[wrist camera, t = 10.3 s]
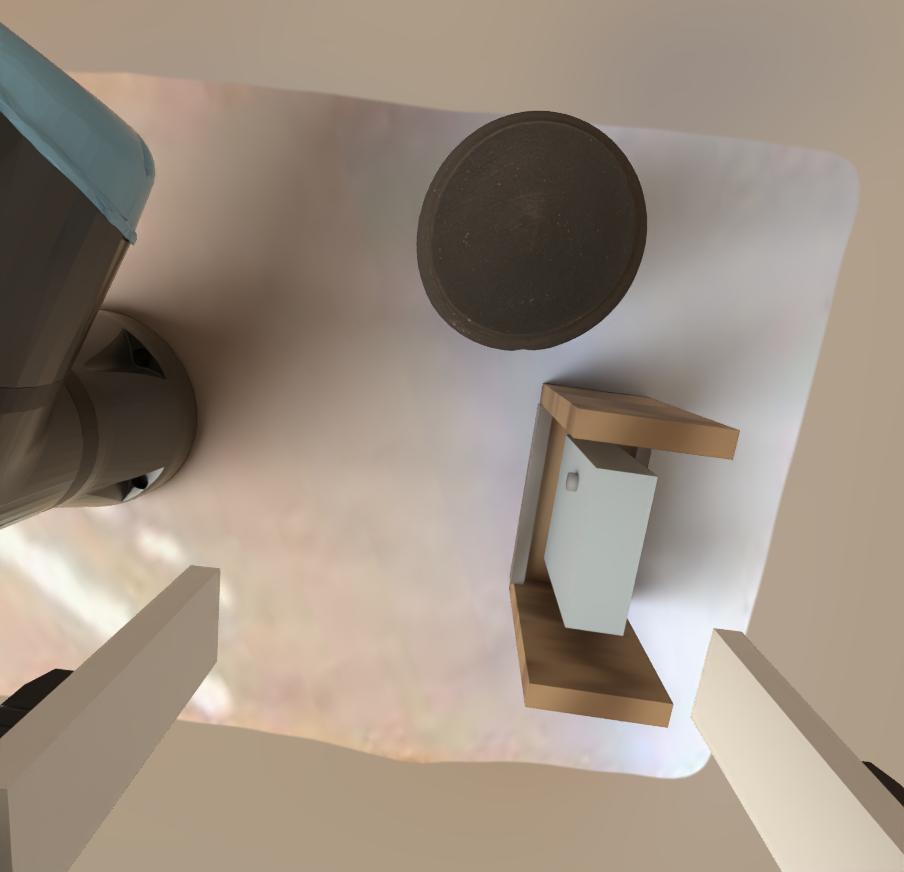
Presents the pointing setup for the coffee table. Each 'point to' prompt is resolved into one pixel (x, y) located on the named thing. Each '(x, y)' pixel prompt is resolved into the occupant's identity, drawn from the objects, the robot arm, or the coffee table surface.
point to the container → (531, 231)
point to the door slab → (597, 533)
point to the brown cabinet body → (532, 595)
